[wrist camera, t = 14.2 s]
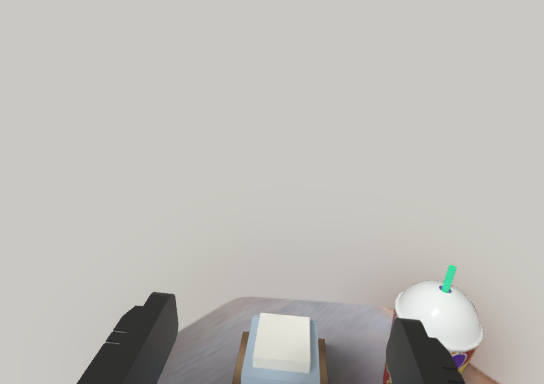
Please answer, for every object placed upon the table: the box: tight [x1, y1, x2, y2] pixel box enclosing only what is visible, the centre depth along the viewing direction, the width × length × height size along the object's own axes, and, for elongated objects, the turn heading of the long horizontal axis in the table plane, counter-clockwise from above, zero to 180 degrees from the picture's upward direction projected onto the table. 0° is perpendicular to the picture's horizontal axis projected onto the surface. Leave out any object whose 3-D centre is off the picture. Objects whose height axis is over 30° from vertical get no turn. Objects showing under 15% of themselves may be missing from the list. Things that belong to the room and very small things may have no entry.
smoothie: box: [383, 265, 483, 384], centre depth 33 cm, size 8×8×20 cm
